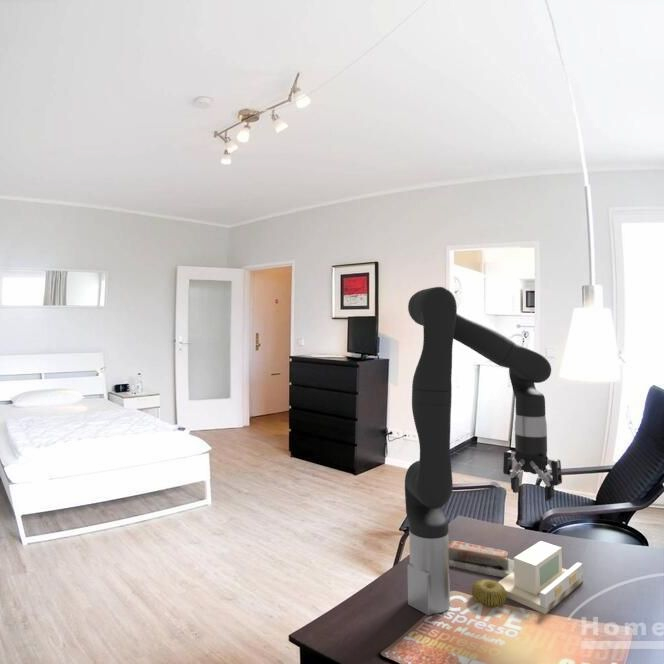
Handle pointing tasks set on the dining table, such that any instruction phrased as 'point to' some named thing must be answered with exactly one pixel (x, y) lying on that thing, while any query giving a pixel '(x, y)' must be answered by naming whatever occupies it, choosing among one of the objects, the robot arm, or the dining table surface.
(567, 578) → the rail
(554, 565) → the carton
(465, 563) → the packaged product
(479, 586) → the sculpture
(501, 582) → the shelf board
